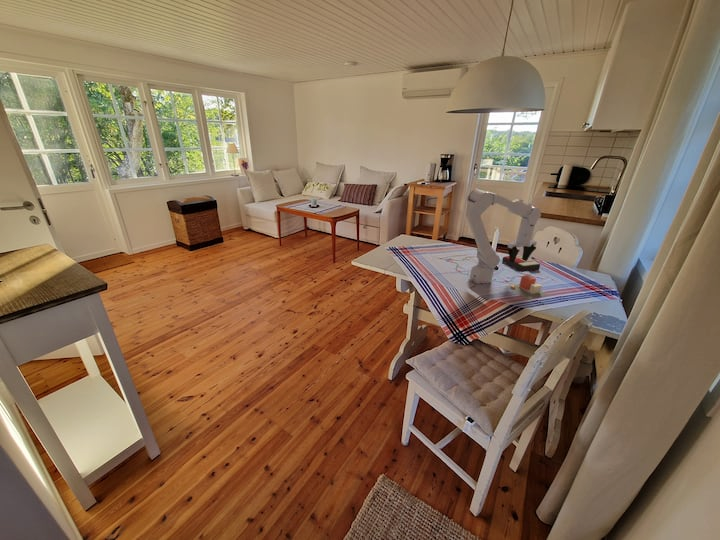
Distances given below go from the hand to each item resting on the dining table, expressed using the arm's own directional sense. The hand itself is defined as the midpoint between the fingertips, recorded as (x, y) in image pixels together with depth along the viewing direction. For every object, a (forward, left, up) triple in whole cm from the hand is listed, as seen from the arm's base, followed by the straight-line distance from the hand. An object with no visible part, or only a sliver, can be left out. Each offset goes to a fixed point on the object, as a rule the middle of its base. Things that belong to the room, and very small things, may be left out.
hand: (518, 261), depth 136 cm
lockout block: (-2, -9, -9) cm, 13 cm away
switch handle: (-2, -14, -9) cm, 17 cm away
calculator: (+18, +14, -11) cm, 25 cm away
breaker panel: (-4, -12, -10) cm, 16 cm away
